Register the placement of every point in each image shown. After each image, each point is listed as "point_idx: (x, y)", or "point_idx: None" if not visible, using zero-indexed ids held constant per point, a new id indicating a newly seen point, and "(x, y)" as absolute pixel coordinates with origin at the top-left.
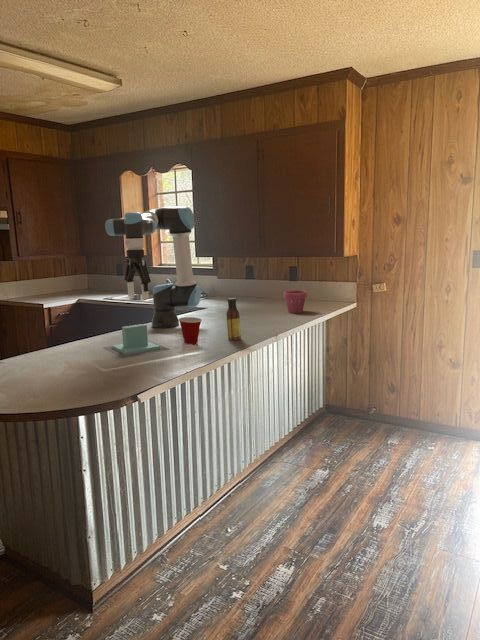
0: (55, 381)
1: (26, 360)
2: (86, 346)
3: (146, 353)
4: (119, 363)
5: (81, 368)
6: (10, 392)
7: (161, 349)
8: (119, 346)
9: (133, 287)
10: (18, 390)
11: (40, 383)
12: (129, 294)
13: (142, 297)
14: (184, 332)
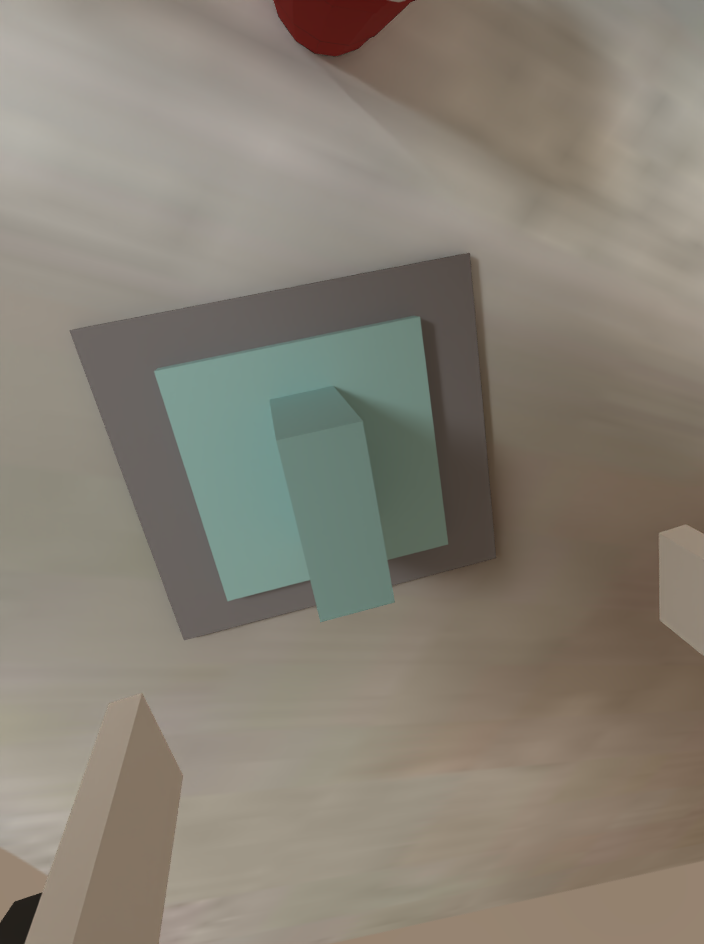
0: (628, 777)
1: (252, 907)
2: (47, 711)
3: (482, 428)
4: (545, 574)
5: (521, 714)
6: (647, 864)
7: (439, 314)
8: (279, 561)
9: (94, 889)
10: (643, 851)
11: (617, 812)
12: (171, 805)
13: (694, 635)
14: (386, 20)
